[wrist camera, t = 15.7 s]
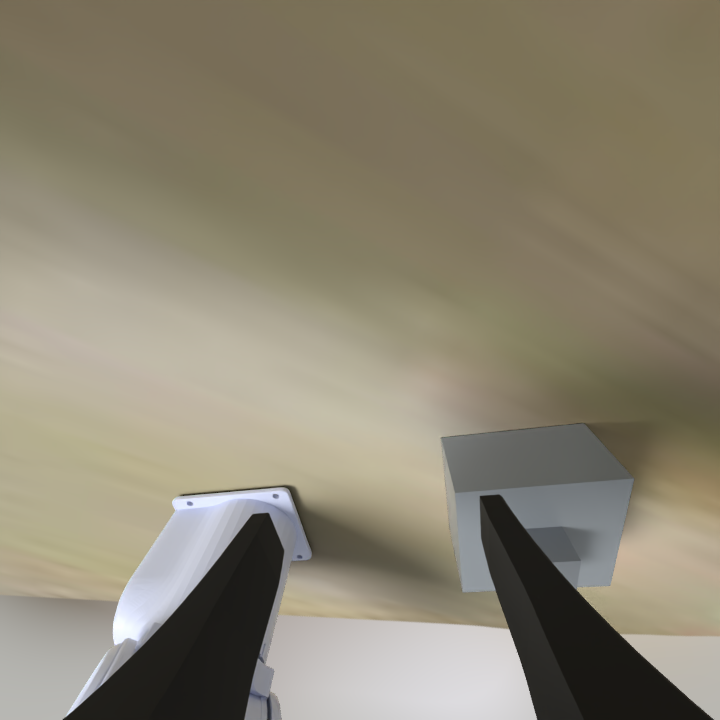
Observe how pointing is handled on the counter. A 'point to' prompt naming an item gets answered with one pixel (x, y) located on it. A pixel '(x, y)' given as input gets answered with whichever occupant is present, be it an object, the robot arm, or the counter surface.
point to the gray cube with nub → (539, 498)
